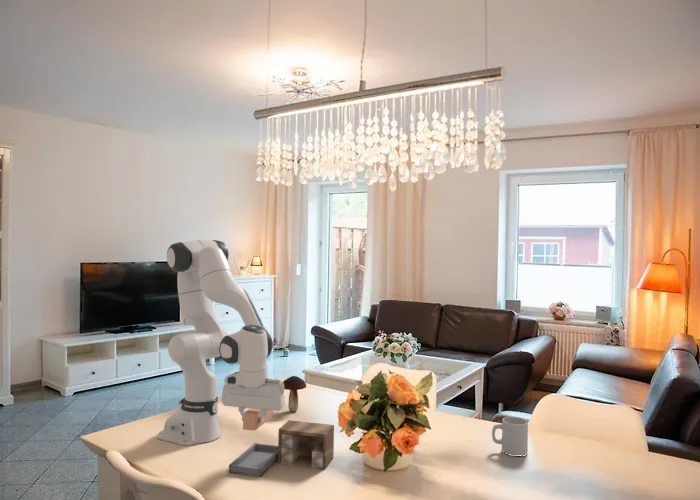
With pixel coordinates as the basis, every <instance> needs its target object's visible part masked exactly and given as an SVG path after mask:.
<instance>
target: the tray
mask: <svg viewBox="0 0 700 500" xmlns="http://www.w3.org/2000/svg"><path fill="white" fill-rule="evenodd" d="M277 462H278V445H274V444H266V443H259V442H258V443H257V442H254V443H253V444H251V446H250V447H248V448H247V449H246V450H244V452H242V453H241V454H240V455H239V456H238V457H237V458H235V459H234V460H233V461H232V462H231V463H229V464H228V473H229V474H233V475H234V474H235V475H241V476H250V477H257V478H261V477H263V475H264V474H265V473H267V472H268V470H269V469H270V468H271V467H272V466H273V465H274V464H275V463H277Z"/></svg>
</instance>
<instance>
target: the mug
mask: <svg viewBox="0 0 700 500" xmlns="http://www.w3.org/2000/svg"><path fill="white" fill-rule="evenodd" d="M497 429H500V430H502V431H501V438H500V439H498V438H496V431H497ZM491 430H492V431H491V438H492V441H493V443H495V444H498V445H501V452H502V451H504V452H505V453H507V454H511V455H525V454H527V455H528V453H527V452H528V448H529V447H528V442H529V440H528V438H529V437H528V435H529V422H528V420H527V419H524V418H521V417H518V416H517V417H516V416H505V417H503V418H502V422H501V423H496V424H494V425H493V426H492V429H491ZM505 453H504V454H505Z"/></svg>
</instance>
